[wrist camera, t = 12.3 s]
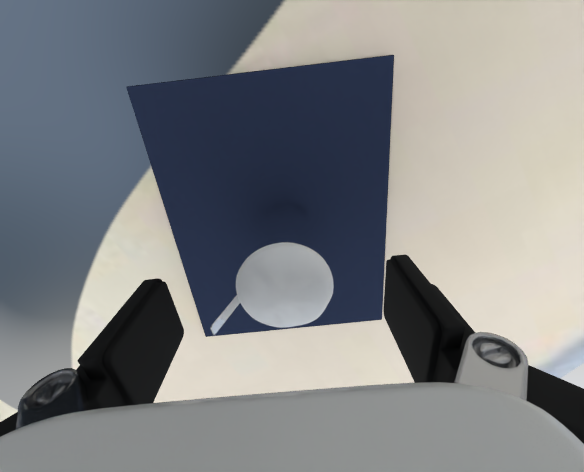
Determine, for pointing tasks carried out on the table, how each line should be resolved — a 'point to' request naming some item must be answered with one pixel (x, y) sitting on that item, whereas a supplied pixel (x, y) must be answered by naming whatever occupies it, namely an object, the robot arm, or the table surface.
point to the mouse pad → (274, 175)
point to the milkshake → (282, 273)
